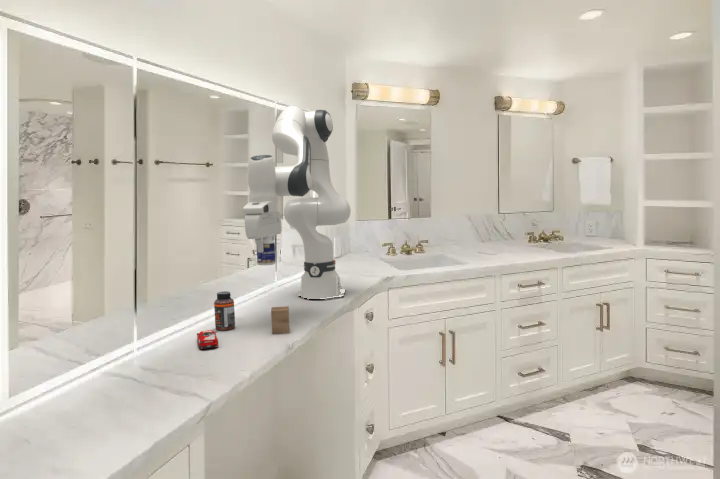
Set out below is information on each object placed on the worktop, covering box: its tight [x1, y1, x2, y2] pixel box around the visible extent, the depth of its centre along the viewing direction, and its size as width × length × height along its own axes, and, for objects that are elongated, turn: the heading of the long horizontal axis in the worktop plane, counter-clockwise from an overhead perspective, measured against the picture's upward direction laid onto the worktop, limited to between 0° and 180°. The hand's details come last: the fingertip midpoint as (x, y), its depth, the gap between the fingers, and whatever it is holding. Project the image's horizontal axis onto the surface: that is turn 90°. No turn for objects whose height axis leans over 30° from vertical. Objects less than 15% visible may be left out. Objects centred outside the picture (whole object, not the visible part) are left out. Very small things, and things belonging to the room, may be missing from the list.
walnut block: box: [270, 305, 291, 335], centre depth 160 cm, size 5×5×7 cm
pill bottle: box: [256, 233, 276, 266], centre depth 169 cm, size 6×6×10 cm
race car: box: [196, 329, 219, 350], centre depth 149 cm, size 13×5×4 cm, turn 18°
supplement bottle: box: [213, 291, 236, 332], centre depth 165 cm, size 6×6×11 cm
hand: (265, 250), depth 169 cm, fingers closed on pill bottle, 6 cm apart
